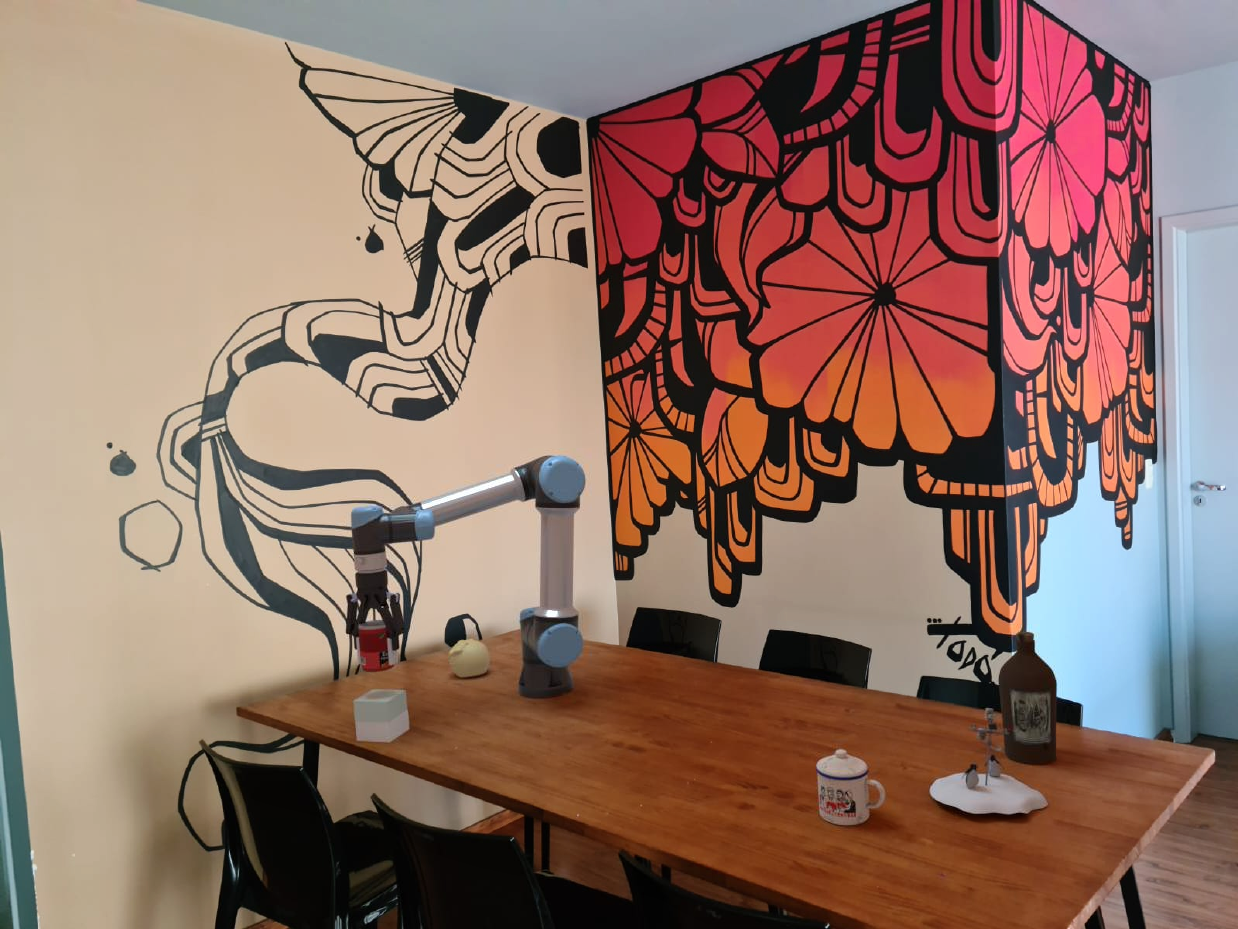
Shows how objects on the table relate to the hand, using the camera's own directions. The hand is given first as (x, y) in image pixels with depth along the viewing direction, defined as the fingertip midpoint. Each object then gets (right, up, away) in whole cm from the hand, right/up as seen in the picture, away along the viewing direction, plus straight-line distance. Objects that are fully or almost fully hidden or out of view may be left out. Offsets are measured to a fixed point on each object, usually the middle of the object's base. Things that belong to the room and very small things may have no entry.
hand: (378, 663), depth 212 cm
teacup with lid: (+100, -14, -58) cm, 116 cm away
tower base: (+1, -18, +1) cm, 18 cm away
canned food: (0, -1, 0) cm, 1 cm away
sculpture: (+14, -15, +48) cm, 52 cm away
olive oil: (+141, -11, -36) cm, 146 cm away
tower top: (+1, -13, 0) cm, 13 cm away
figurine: (+125, -13, -54) cm, 137 cm away
